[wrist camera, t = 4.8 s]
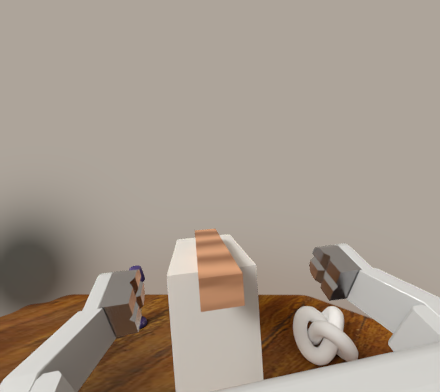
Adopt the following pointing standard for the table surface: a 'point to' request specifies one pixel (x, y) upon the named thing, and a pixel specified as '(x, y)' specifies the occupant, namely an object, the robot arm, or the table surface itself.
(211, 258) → the orange bar
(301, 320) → the white knot
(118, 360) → the table surface
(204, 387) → the white stand
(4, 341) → the table surface
